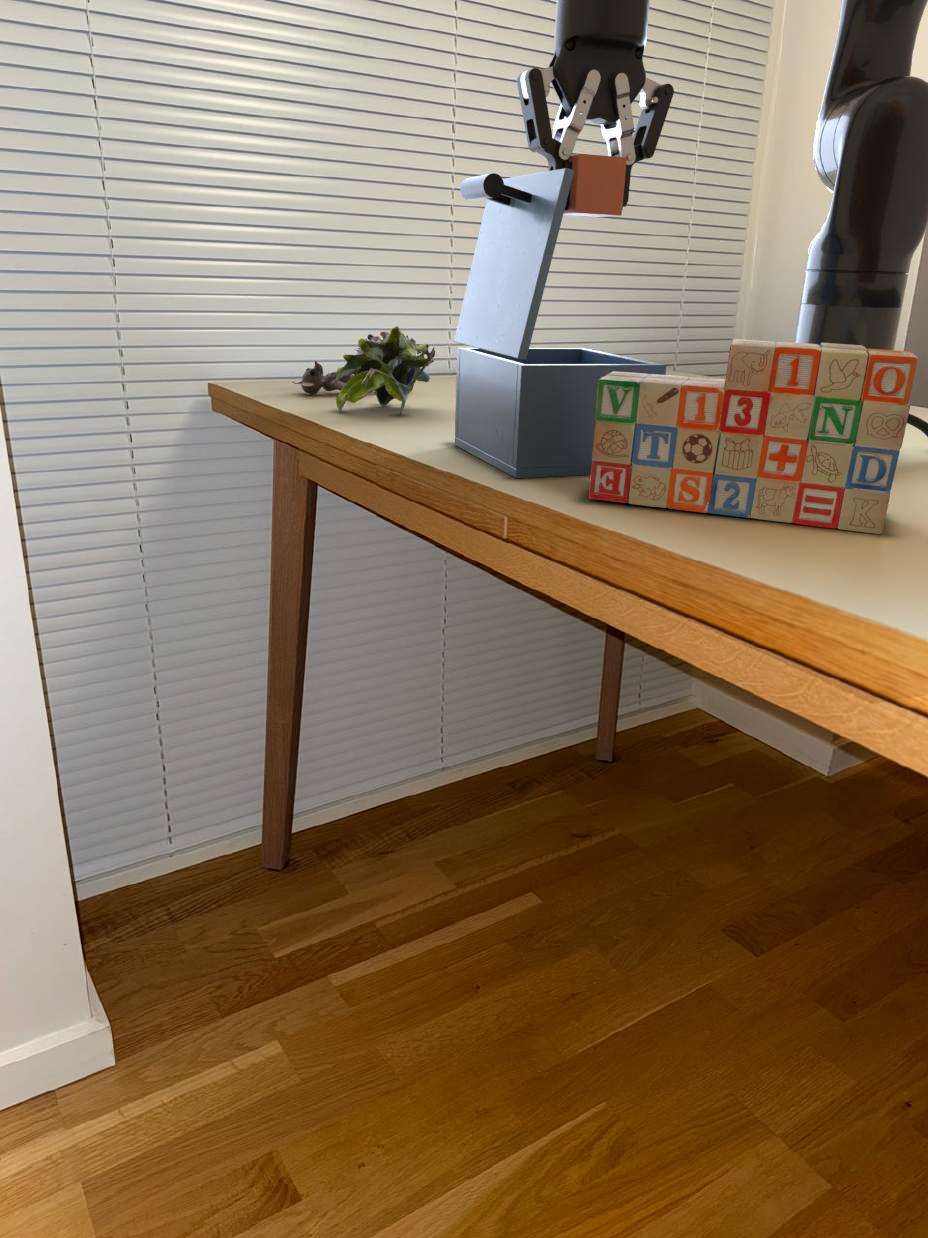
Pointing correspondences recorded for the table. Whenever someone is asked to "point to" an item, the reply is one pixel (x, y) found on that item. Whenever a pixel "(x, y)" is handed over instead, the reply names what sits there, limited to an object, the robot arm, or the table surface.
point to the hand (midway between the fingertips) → (587, 210)
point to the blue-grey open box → (534, 407)
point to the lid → (511, 258)
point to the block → (596, 185)
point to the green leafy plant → (384, 368)
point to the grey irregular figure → (321, 380)
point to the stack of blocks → (760, 435)
